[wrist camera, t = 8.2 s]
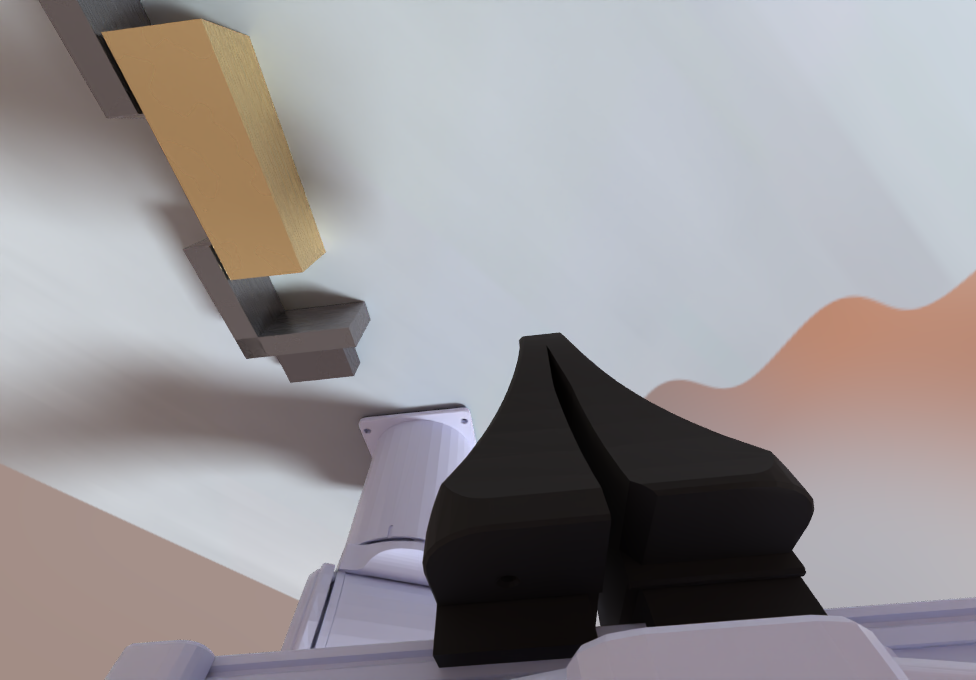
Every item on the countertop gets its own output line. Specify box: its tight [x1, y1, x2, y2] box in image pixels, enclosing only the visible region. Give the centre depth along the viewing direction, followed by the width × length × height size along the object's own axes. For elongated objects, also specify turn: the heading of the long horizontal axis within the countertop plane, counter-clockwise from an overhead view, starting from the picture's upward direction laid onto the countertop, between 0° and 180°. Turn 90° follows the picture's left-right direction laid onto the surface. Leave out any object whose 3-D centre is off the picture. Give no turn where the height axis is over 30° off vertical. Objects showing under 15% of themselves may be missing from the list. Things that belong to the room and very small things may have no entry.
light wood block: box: [101, 19, 326, 280], centre depth 16 cm, size 9×4×3 cm, turn 6°
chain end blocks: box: [39, 0, 370, 383], centre depth 16 cm, size 23×6×3 cm, turn 6°
